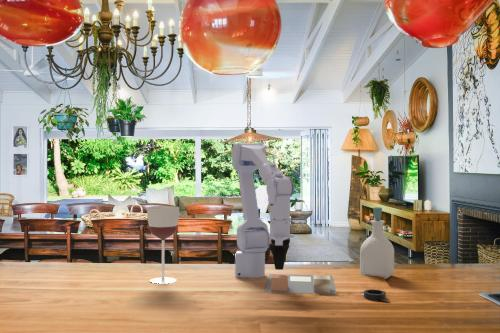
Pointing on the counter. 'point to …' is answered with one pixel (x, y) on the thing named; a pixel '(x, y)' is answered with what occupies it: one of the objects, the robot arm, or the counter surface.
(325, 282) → the top block
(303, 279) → the board
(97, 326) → the counter surface
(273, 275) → the base block
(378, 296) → the duct tape
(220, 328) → the counter surface
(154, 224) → the wineglass
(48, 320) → the counter surface
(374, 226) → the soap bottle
